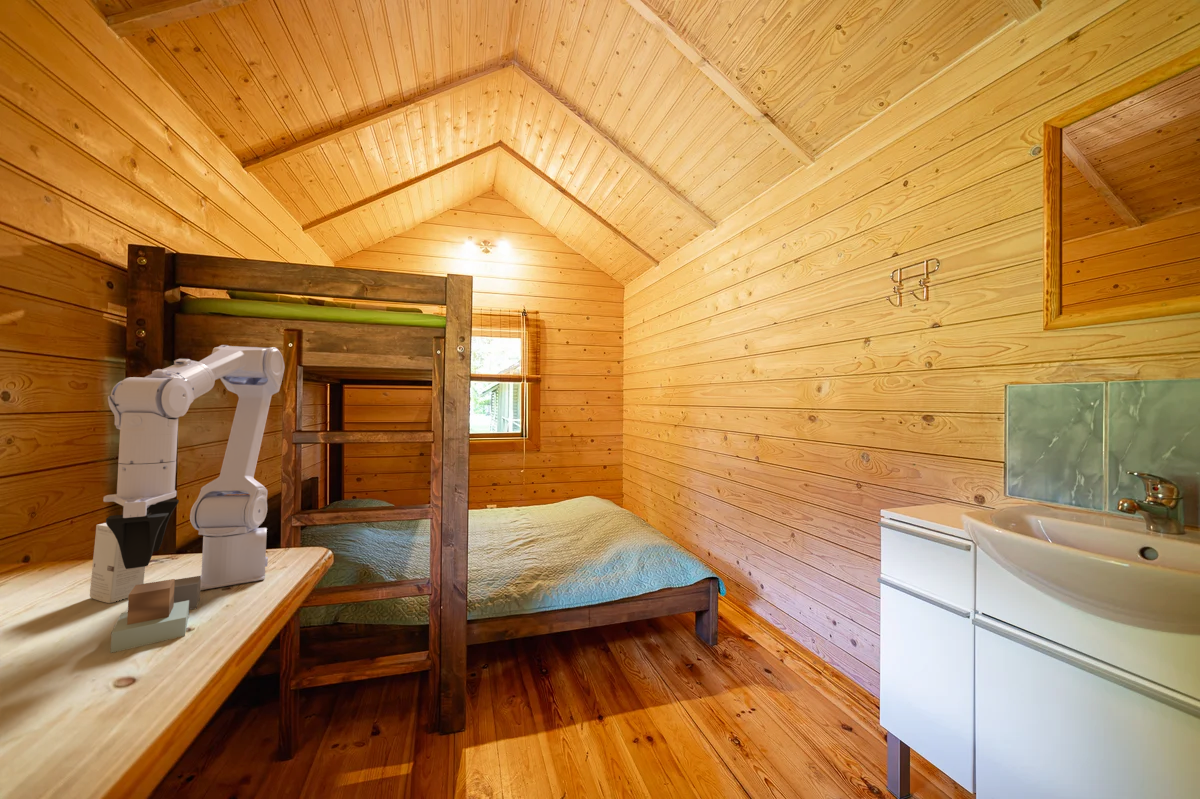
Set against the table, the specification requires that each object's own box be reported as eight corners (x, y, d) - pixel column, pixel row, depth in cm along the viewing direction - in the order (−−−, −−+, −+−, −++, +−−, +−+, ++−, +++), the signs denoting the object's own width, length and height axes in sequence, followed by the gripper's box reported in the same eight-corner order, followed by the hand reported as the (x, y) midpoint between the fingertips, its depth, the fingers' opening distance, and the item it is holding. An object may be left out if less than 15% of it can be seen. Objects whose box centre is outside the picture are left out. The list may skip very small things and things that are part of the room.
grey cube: (199, 600, 73) (200, 575, 73) (196, 609, 69) (197, 583, 70) (166, 605, 70) (167, 580, 70) (161, 615, 67) (162, 589, 67)
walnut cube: (173, 606, 64) (174, 578, 64) (168, 616, 61) (169, 587, 61) (134, 613, 62) (135, 585, 62) (127, 624, 59) (128, 594, 59)
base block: (188, 620, 66) (189, 600, 67) (184, 639, 61) (185, 617, 61) (120, 634, 62) (121, 613, 62) (110, 656, 57) (111, 632, 57)
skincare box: (87, 598, 72) (91, 524, 72) (124, 588, 76) (127, 518, 77) (110, 604, 70) (114, 528, 70) (146, 593, 74) (150, 521, 75)
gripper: (120, 458, 65) (115, 550, 65) (89, 469, 54) (83, 581, 53) (184, 456, 70) (180, 542, 69) (169, 466, 58) (164, 569, 58)
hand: (143, 558), depth 62 cm, fingers open, 7 cm apart
